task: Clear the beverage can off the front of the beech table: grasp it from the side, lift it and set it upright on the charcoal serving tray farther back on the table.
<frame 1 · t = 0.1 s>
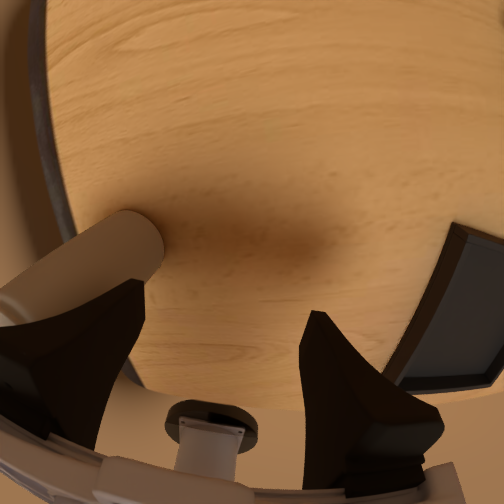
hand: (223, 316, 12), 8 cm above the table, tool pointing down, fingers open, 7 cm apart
tray: (475, 317, 21), on the table
beverage can: (136, 240, 19), on the table, touching gripper
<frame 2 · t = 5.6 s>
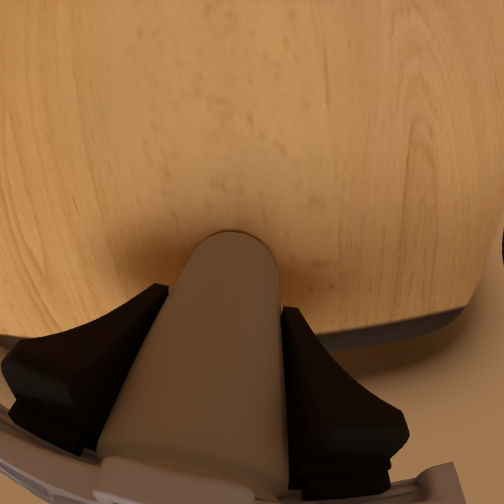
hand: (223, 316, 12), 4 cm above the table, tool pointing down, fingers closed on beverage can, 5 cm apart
beverage can: (233, 269, 16), on the table, touching gripper
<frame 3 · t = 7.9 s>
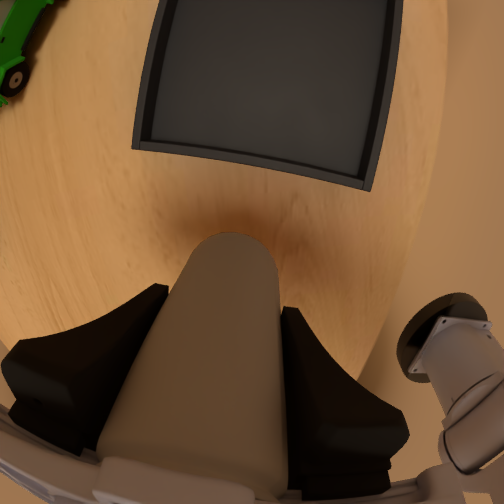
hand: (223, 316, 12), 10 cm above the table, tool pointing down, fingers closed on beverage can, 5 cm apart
tray: (271, 53, 16), on the table
beverage can: (233, 269, 16), point 6 cm above the table, touching gripper
toy car: (25, 35, 15), on the table
when the fingers open (4 cm above the table, at t = 10.6 s): beverage can stays where it is, resting on tray.
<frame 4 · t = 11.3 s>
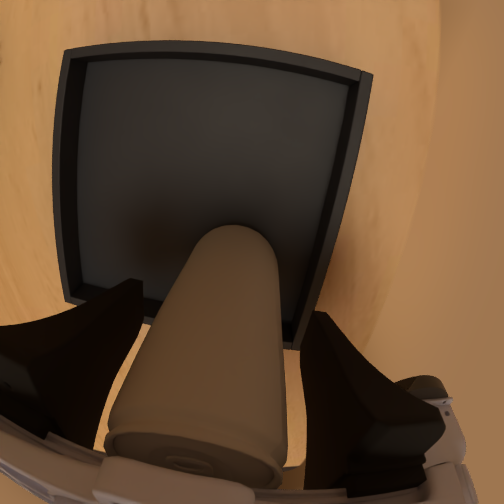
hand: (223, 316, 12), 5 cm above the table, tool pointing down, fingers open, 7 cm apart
tray: (189, 191, 16), on the table
beverage can: (235, 261, 17), resting on tray
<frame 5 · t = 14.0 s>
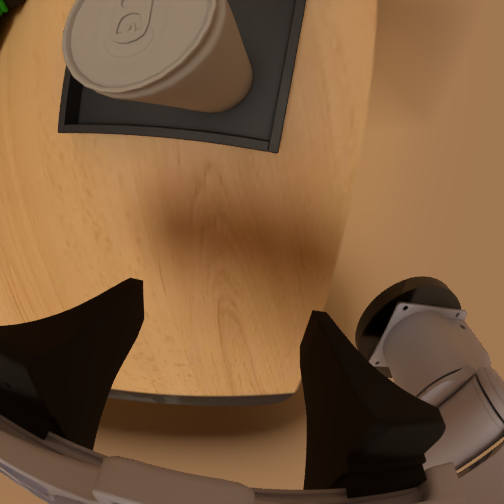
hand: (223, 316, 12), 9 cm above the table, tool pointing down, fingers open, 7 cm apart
tray: (182, 30, 15), on the table
beverage can: (215, 78, 16), resting on tray
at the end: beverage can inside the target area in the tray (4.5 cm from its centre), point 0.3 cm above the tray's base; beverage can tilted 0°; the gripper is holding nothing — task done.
